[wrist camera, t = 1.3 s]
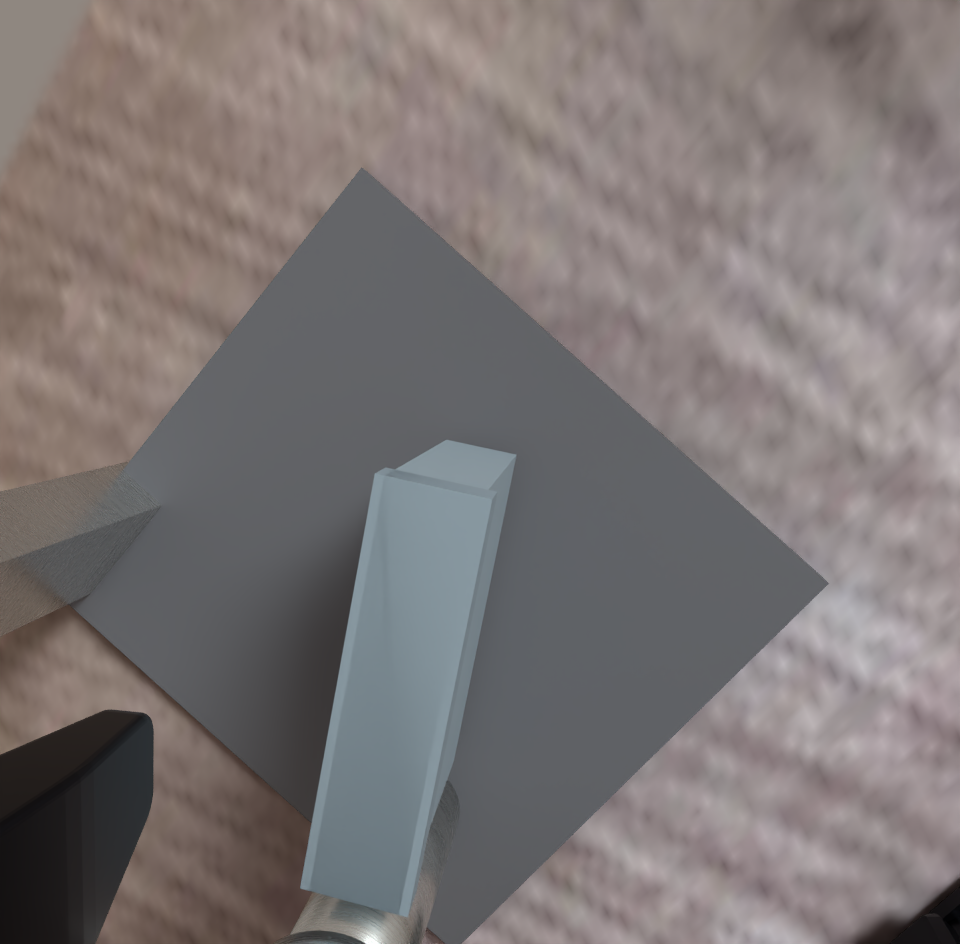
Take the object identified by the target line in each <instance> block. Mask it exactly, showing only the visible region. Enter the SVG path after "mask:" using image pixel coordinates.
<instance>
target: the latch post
mask: <svg viewBox="0 0 960 944" xmlns="http://www.w3.org/2000/svg"><path fill="white" fill-rule="evenodd" d="M128 463H129V462H124V463H120V464H116V465H112V466H107V467H103V468H99V469H95V470H90V471H86V472H82V473H78V474H73V475H69V476H65V477H61V478H56V479H52V480H48V481H44V482H39V483H35V484H31V485H27V486H22V487H18V488H14V489H10V490H5V491H1V492H0V637H1V636H3V635H5V634H7V633H9V632H11V631H13V630H15V629H17V628H20V627H22V626H24V625H26V624H28V623H30V622H32V621H34V620H36V619H38V618H41V617H43V616H45V615H47V614H49V613H51V612H53V611H55V610H57V609H59V608H62V607H64V606H66V605H68V604H70V603H72V602H74V601H76V600H78V599H80V598H83V597H85V596H87V595H89V594H91V593H92V592H93V591H94V589H95V588H96V587H97V586H98V584H99V583H100V582H101V581H102V579H103V578H104V577H105V576H106V574H107V573H108V572H109V571H110V570H111V568H112V567H113V566H114V565H115V563H116V562H117V561H118V560H119V558H120V557H121V556H122V555H123V553H124V552H125V551H126V550H127V549H128V547H129V546H130V545H131V544H132V542H133V541H134V540H135V539H136V537H137V536H138V535H139V534H140V532H141V531H142V530H143V529H144V527H145V526H146V525H147V524H148V523H149V521H150V520H151V519H152V518H153V516H154V515H155V514H156V513H157V511H158V510H159V509H160V508H161V506H162V505H161V504H160V503H159V502H158V501H157V500H155V499H154V498H153V497H152V496H151V495H150V494H149V493H148V492H146V491H145V490H144V489H143V488H142V487H141V486H140V485H139V484H138V483H136V482H135V481H134V480H133V479H132V478H131V477H130V476H129V475H128V474H126V473H125V472H124V471H123V469H124V468H125V467H126V466H127V464H128Z"/></svg>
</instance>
